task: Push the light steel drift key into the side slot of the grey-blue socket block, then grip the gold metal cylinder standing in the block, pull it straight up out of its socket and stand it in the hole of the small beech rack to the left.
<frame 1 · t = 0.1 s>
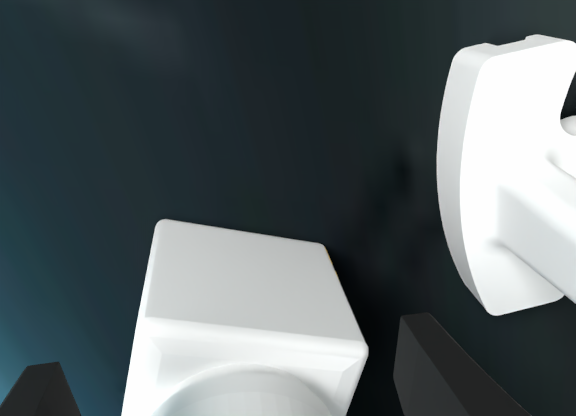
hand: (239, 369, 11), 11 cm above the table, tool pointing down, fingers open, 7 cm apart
joystick: (519, 166, 23), on the table
medicine bottle: (227, 297, 23), on the table
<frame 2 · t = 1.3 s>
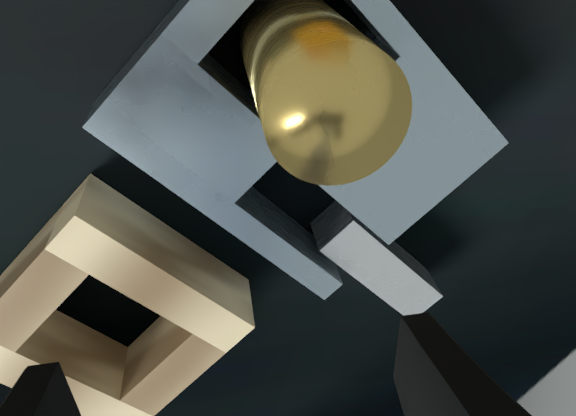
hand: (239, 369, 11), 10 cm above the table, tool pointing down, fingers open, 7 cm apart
socket block: (298, 108, 19), on the table
drift key: (377, 260, 22), point 1 cm above the table, slide at 0.0 cm
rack: (116, 291, 22), on the table
gold metal cylinder: (288, 39, 18), resting in socket block
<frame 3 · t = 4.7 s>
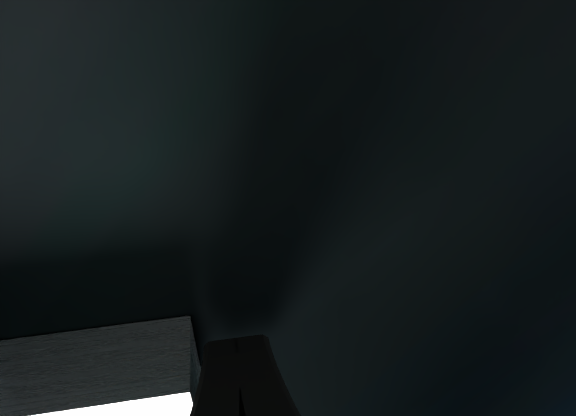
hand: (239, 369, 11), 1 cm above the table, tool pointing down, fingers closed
drift key: (49, 400, 11), point 1 cm above the table, slide at 0.2 cm, touching gripper
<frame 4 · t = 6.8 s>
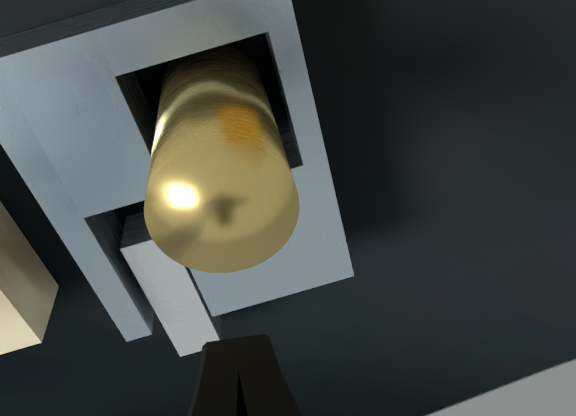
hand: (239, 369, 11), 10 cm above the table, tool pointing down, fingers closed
socket block: (190, 154, 19), on the table
drift key: (175, 283, 21), point 1 cm above the table, slide at 2.3 cm
gold metal cylinder: (213, 92, 18), resting in socket block
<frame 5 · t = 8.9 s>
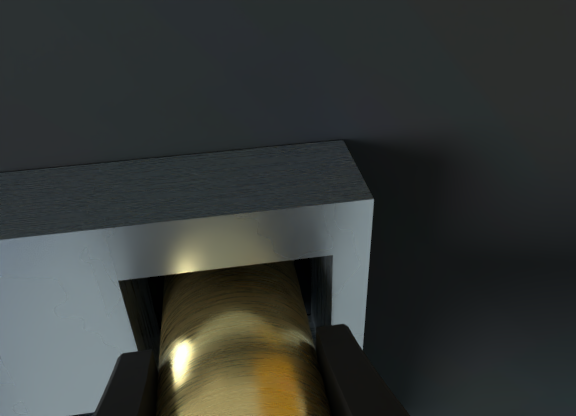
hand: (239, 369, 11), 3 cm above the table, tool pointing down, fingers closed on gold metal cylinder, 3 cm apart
socket block: (184, 326, 15), on the table
gold metal cylinder: (229, 267, 14), resting in socket block, touching gripper
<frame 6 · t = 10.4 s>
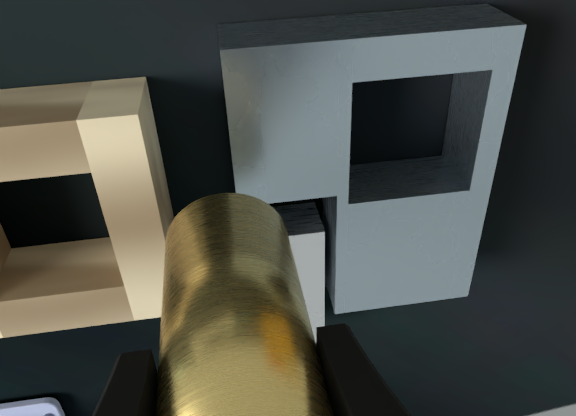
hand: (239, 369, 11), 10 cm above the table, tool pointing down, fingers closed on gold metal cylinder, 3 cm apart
socket block: (350, 160, 20), on the table
drift key: (298, 277, 22), point 1 cm above the table, slide at 2.3 cm
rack: (55, 191, 19), on the table
gold metal cylinder: (227, 243, 15), point 6 cm above the table, touching gripper
when the fingers open (5 cm above the table, at t = 12.1 s): gold metal cylinder stays where it is, resting in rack.
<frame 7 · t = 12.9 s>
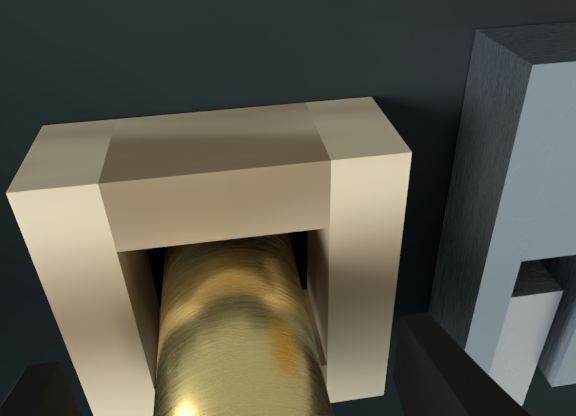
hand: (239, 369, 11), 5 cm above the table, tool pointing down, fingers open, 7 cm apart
drift key: (498, 338, 18), point 1 cm above the table, slide at 2.3 cm
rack: (227, 240, 15), on the table
gold metal cylinder: (227, 234, 15), resting in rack
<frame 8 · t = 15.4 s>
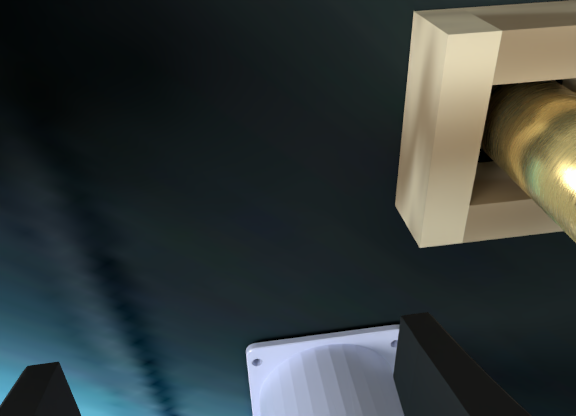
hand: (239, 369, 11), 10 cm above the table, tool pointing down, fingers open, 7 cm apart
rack: (501, 110, 21), on the table
gold metal cylinder: (502, 105, 21), resting in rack
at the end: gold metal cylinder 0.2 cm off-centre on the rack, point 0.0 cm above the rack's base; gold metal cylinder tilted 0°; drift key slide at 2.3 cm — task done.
